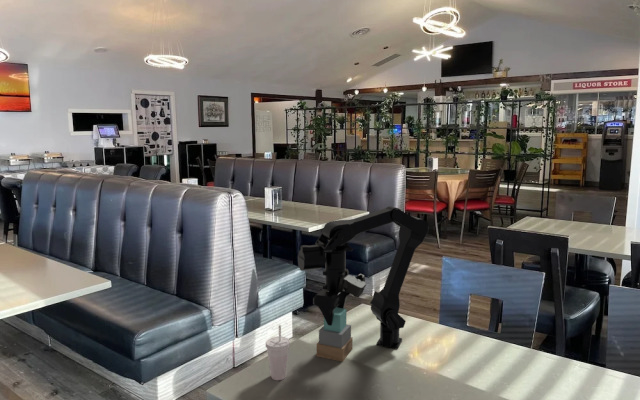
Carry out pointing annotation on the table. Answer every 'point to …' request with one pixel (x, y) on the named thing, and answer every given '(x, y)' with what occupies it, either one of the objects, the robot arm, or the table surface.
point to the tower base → (334, 351)
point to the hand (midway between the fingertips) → (335, 319)
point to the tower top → (335, 337)
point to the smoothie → (278, 355)
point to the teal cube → (337, 320)
